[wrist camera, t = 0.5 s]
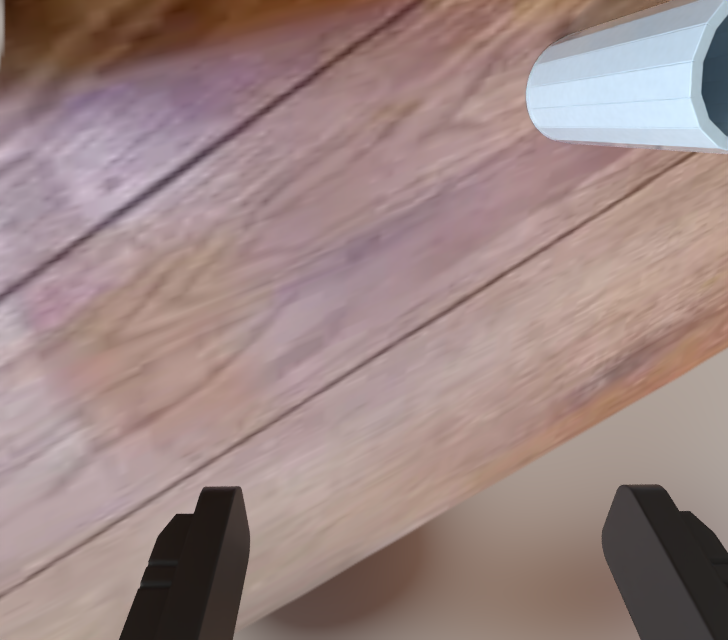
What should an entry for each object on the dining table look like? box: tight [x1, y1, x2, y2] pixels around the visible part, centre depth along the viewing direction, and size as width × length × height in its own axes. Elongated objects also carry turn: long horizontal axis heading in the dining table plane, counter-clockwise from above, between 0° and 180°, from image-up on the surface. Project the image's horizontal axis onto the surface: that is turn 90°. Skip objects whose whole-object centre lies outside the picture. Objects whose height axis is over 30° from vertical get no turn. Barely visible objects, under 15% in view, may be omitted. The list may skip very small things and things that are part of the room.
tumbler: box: [526, 0, 728, 154], centre depth 27 cm, size 6×6×15 cm
